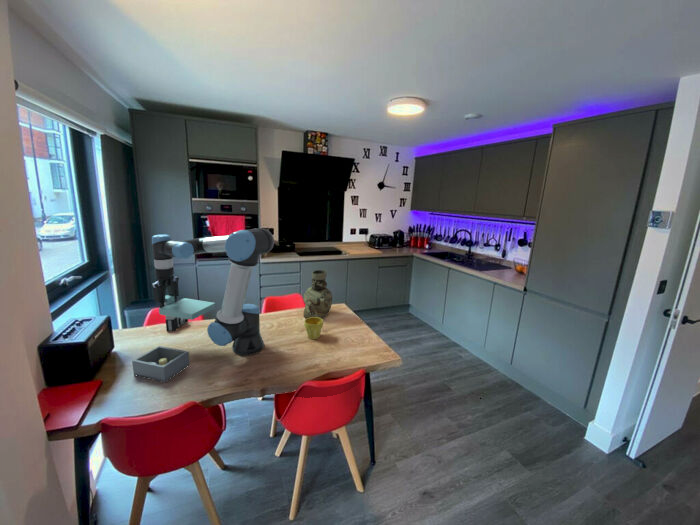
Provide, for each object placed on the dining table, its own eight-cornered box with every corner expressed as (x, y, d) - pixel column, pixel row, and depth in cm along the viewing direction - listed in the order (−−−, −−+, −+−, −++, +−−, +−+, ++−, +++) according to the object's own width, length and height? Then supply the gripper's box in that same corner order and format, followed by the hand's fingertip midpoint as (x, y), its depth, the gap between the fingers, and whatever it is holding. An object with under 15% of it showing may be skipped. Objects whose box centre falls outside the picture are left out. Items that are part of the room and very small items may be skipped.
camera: (181, 331, 160) (179, 314, 158) (166, 331, 160) (164, 314, 157) (192, 321, 174) (191, 305, 172) (178, 321, 173) (176, 305, 171)
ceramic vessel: (312, 325, 175) (313, 278, 168) (297, 313, 191) (297, 270, 185) (338, 319, 186) (340, 274, 179) (322, 308, 202) (323, 267, 196)
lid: (215, 308, 143) (215, 297, 142) (192, 320, 129) (191, 308, 127) (177, 302, 148) (176, 291, 147) (150, 313, 134) (149, 301, 133)
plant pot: (300, 338, 158) (300, 322, 156) (310, 331, 167) (310, 315, 165) (317, 342, 154) (317, 326, 152) (325, 334, 164) (326, 319, 162)
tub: (189, 365, 129) (188, 351, 128) (165, 382, 117) (163, 367, 116) (160, 359, 133) (159, 345, 132) (134, 375, 121) (131, 360, 119)
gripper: (172, 262, 145) (176, 306, 150) (141, 270, 129) (146, 318, 134) (184, 264, 143) (188, 308, 149) (154, 272, 127) (159, 321, 132)
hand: (168, 313), depth 141 cm, fingers closed on lid, 4 cm apart
